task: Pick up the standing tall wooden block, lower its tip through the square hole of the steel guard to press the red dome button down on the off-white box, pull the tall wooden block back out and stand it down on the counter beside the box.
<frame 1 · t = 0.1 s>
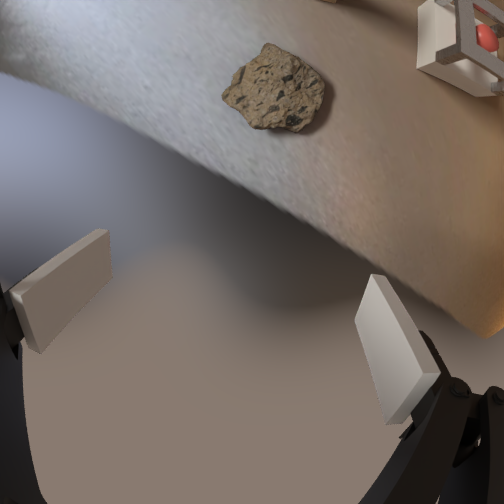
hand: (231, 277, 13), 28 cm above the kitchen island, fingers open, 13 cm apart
guard: (481, 39, 19), on the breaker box, point 9 cm above the kitchen island
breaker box: (449, 51, 27), on the kitchen island
red dome button: (473, 42, 20), point 7 cm above the kitchen island, slide at 0.0 cm
rock: (275, 93, 34), on the kitchen island
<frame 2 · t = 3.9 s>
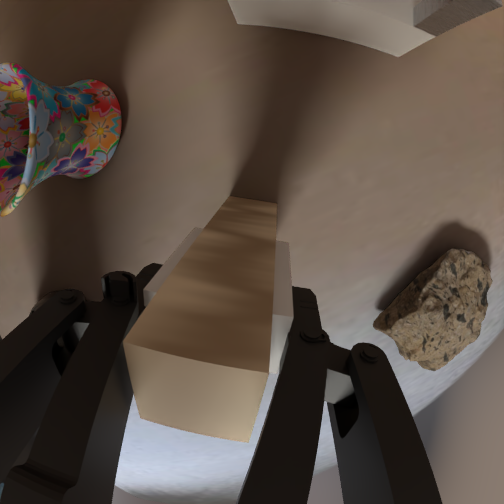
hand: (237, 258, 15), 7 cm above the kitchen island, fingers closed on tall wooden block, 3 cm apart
mug: (78, 121, 19), on the kitchen island
rock: (435, 301, 23), on the kitchen island
tall wooden block: (249, 222, 21), on the kitchen island, touching gripper
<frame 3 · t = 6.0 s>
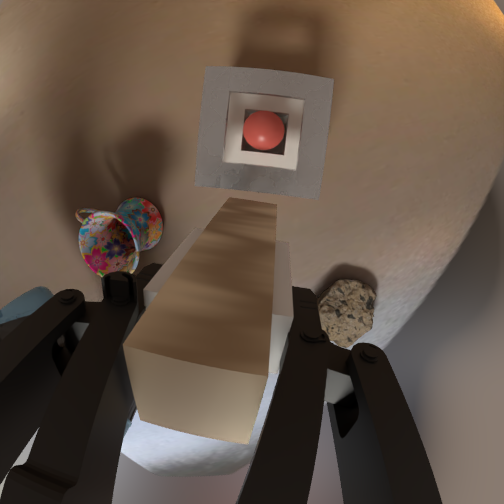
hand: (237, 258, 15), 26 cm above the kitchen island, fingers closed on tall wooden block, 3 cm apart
mug: (134, 217, 42), on the kitchen island
guard: (264, 130, 28), on the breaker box, point 9 cm above the kitchen island
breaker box: (265, 133, 36), on the kitchen island
red dome button: (264, 131, 29), point 7 cm above the kitchen island, slide at 0.0 cm
rock: (340, 306, 46), on the kitchen island
tall wooden block: (249, 223, 21), point 19 cm above the kitchen island, touching gripper
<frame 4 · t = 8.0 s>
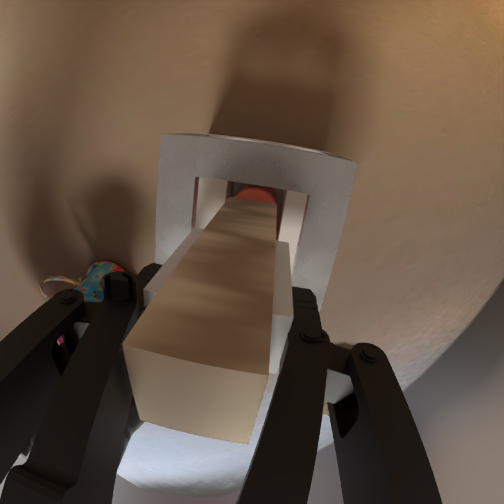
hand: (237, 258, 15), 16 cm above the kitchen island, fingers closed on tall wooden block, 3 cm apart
mug: (107, 279, 36), on the kitchen island
guard: (249, 223, 21), on the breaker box, point 9 cm above the kitchen island
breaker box: (258, 197, 30), on the kitchen island
red dome button: (253, 209, 25), point 5 cm above the kitchen island, slide at 2.0 cm, touching tall wooden block
tall wooden block: (249, 222, 21), point 9 cm above the kitchen island, touching gripper, red dome button
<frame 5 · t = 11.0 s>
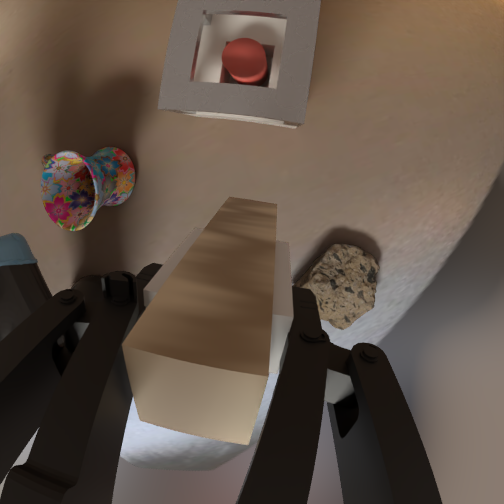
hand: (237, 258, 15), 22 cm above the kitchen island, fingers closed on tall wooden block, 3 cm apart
mug: (106, 170, 36), on the kitchen island
guard: (243, 55, 21), on the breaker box, point 9 cm above the kitchen island
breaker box: (252, 75, 30), on the kitchen island
red dome button: (247, 65, 25), point 5 cm above the kitchen island, slide at 2.0 cm
rock: (337, 279, 40), on the kitchen island
tall wooden block: (249, 223, 21), point 15 cm above the kitchen island, touching gripper
when the fingers open (8 cm above the kitchen island, at t = 13.6 s): tall wooden block drops 1 cm, on the kitchen island.
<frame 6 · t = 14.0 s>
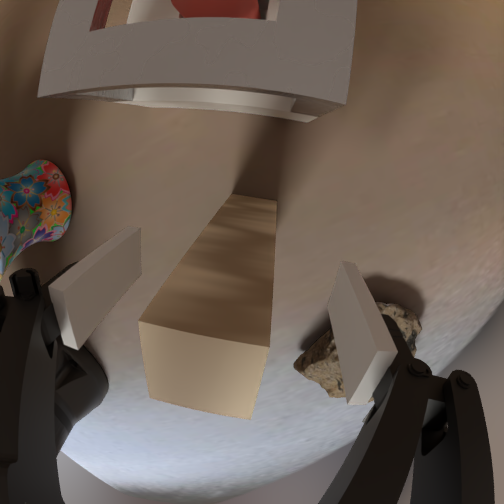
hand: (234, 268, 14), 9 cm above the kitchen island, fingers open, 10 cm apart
mug: (41, 191, 23), on the kitchen island
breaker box: (237, 39, 17), on the kitchen island
red dome button: (224, 13, 12), point 5 cm above the kitchen island, slide at 2.0 cm
rock: (362, 342, 27), on the kitchen island
tall wooden block: (251, 219, 22), on the kitchen island
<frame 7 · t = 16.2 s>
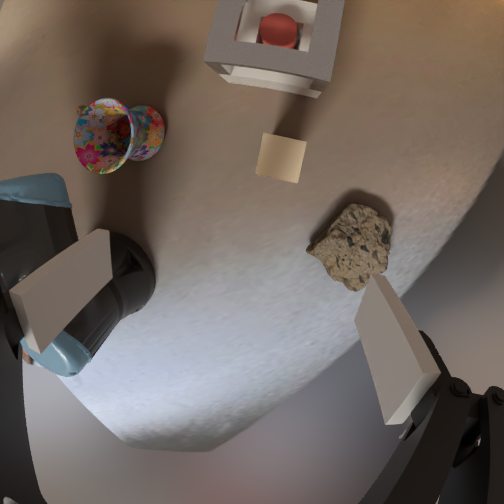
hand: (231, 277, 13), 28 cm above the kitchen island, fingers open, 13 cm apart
mug: (136, 128, 38), on the kitchen island
guard: (278, 26, 23), on the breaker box, point 9 cm above the kitchen island
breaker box: (280, 50, 31), on the kitchen island
red dome button: (279, 38, 26), point 5 cm above the kitchen island, slide at 2.0 cm
rock: (352, 242, 41), on the kitchen island
tall wooden block: (282, 149, 37), on the kitchen island
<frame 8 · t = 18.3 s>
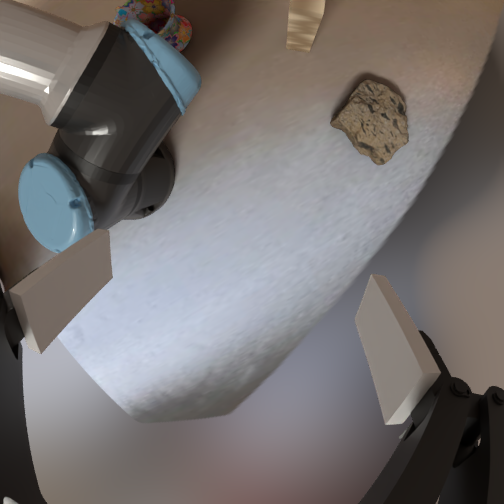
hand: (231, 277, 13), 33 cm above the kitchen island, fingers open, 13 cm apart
mug: (163, 34, 35), on the kitchen island
rock: (371, 120, 39), on the kitchen island
tall wooden block: (299, 41, 34), on the kitchen island
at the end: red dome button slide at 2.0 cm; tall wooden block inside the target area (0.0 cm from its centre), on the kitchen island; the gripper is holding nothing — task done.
